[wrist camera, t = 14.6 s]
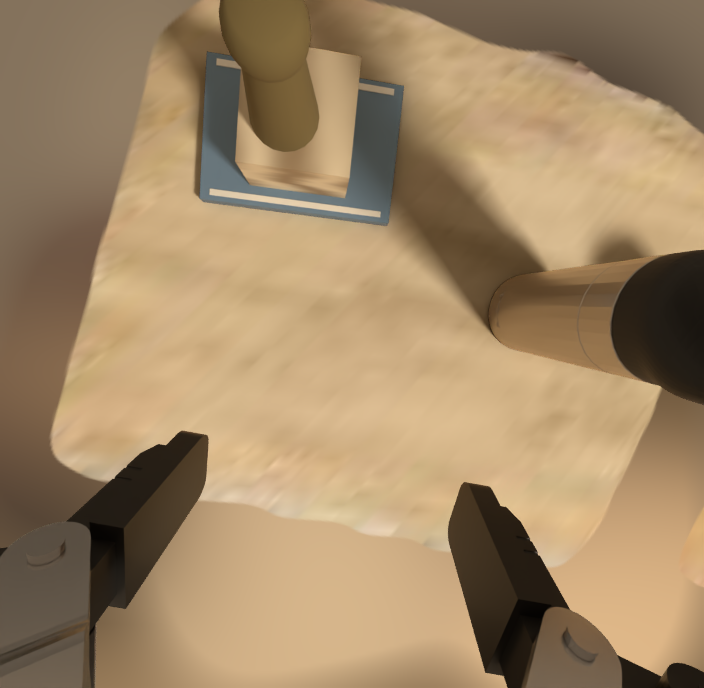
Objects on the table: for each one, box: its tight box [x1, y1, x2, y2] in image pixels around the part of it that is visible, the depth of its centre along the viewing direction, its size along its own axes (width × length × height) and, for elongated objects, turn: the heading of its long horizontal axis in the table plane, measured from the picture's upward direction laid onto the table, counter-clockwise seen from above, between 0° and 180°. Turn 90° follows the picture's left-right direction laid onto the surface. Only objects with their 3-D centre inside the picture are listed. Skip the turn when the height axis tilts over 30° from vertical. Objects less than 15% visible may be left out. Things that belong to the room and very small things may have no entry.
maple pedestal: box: [235, 47, 361, 198], centre depth 32 cm, size 10×10×6 cm
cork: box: [219, 0, 319, 152], centre depth 23 cm, size 6×6×11 cm
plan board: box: [200, 52, 404, 226], centre depth 35 cm, size 20×14×1 cm
